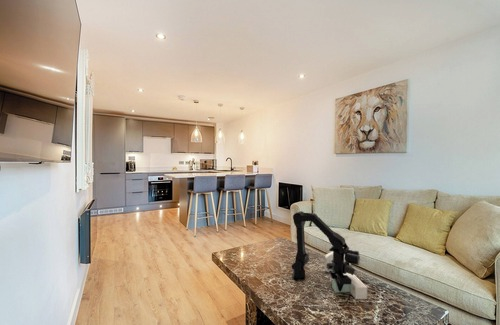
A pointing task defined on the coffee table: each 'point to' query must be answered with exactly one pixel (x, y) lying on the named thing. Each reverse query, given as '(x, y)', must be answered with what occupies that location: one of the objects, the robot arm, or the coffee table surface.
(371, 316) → the coffee table surface
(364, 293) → the bar
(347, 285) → the charger
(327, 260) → the cable organizer
